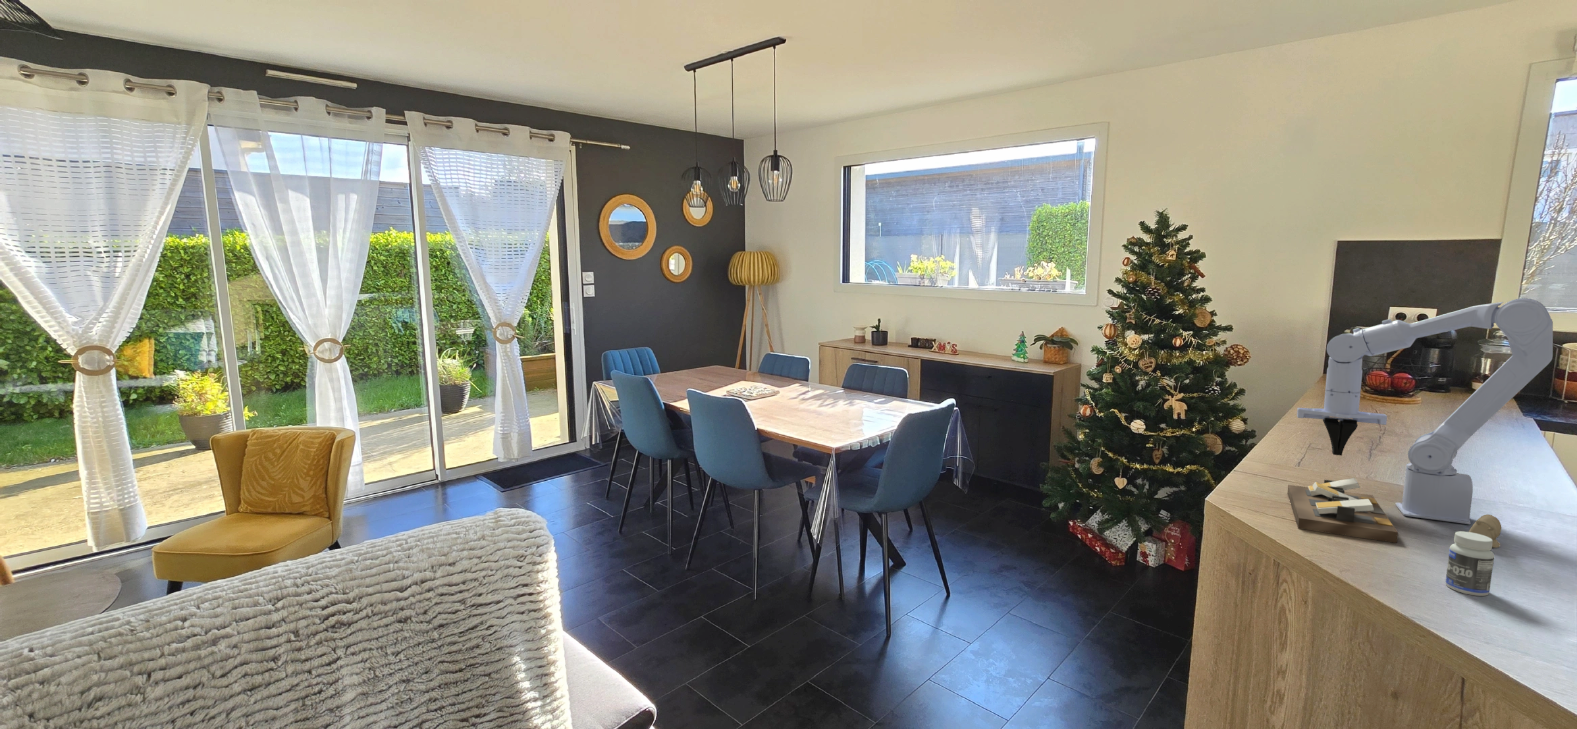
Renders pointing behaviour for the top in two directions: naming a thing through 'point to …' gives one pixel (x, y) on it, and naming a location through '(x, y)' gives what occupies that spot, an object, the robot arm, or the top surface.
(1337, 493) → the rocker middle
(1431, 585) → the top surface
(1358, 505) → the rocker near
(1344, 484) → the block
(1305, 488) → the switch panel
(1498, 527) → the decorative ornament
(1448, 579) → the pill bottle
